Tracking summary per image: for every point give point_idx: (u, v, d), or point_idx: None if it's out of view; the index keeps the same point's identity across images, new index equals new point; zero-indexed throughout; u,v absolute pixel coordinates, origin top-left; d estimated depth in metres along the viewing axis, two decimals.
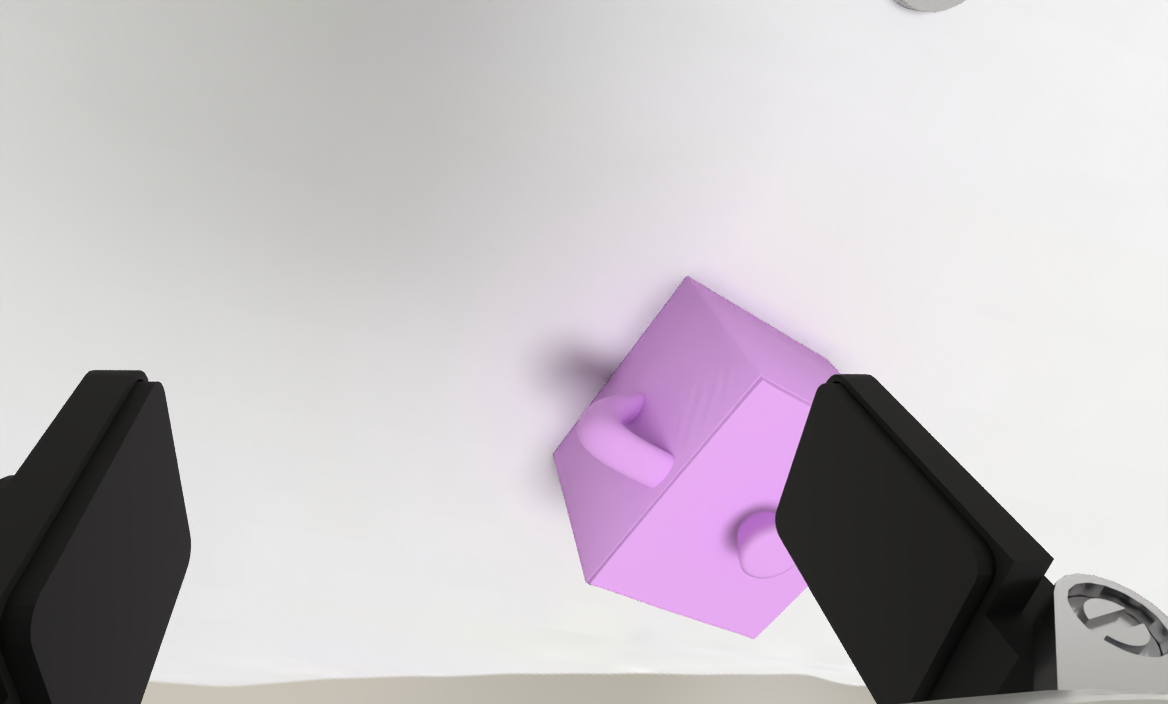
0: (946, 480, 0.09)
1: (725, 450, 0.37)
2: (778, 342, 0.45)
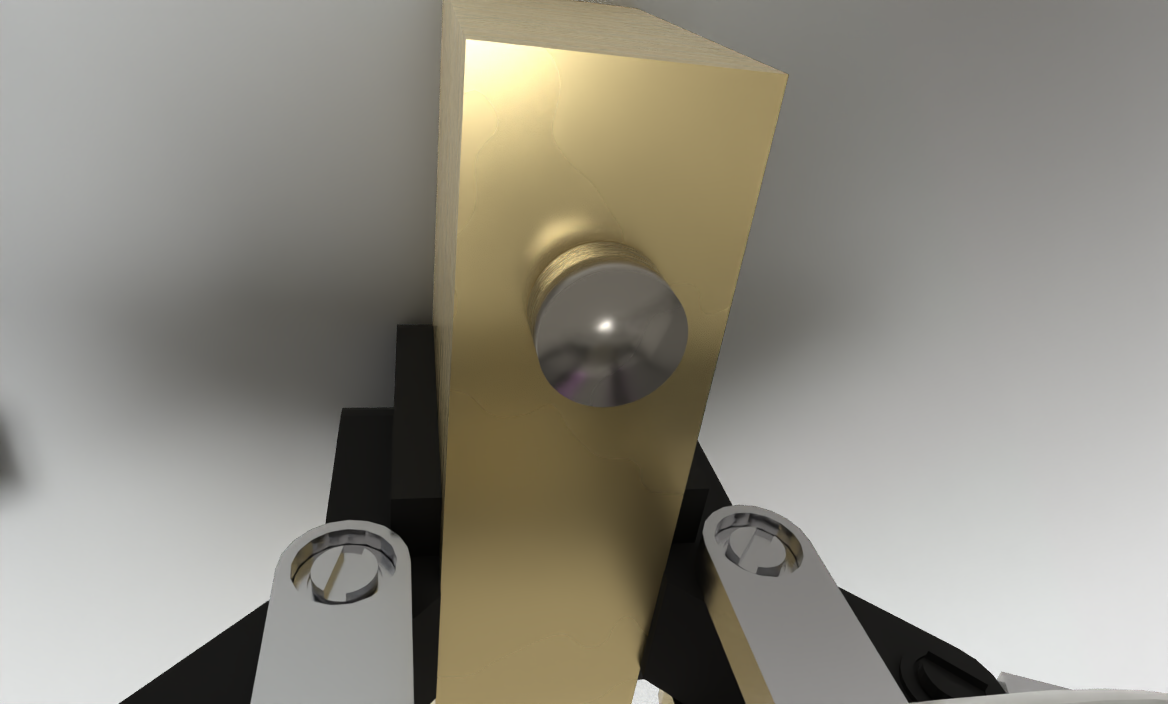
0: None
1: None
2: None
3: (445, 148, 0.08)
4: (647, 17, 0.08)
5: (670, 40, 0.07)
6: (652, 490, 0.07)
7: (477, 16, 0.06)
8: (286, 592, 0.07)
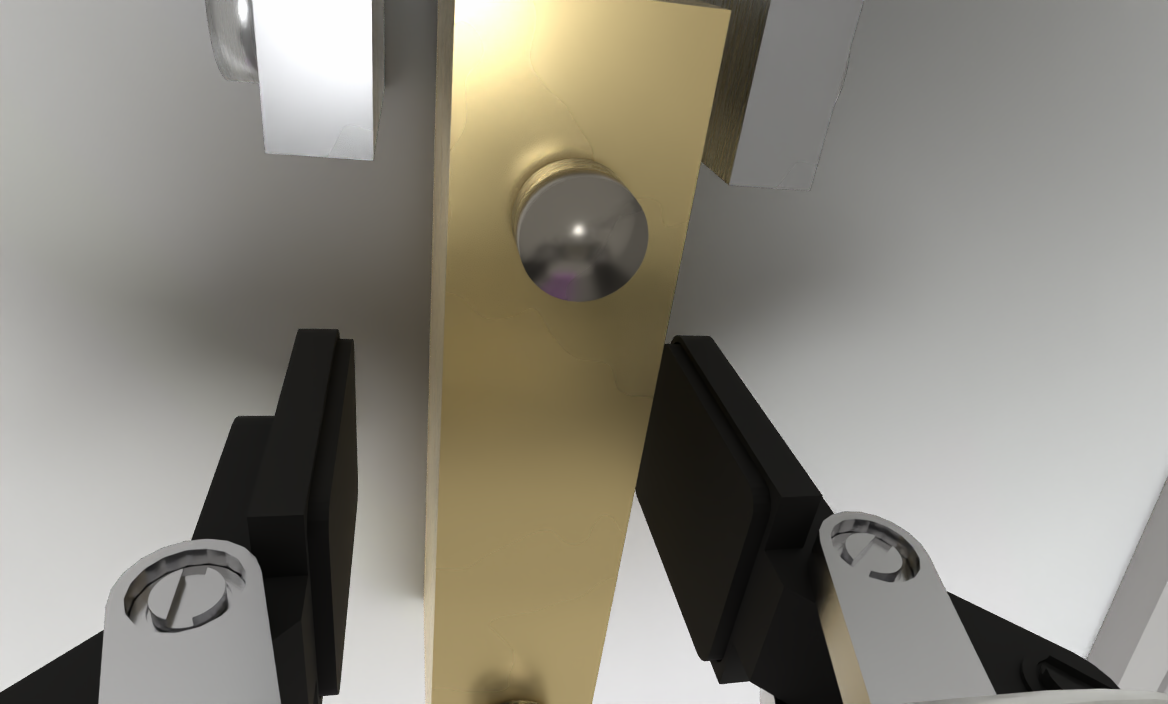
0: (745, 427, 0.09)
1: None
2: None
3: (441, 93, 0.09)
4: None
5: None
6: (625, 392, 0.08)
7: None
8: (115, 619, 0.06)
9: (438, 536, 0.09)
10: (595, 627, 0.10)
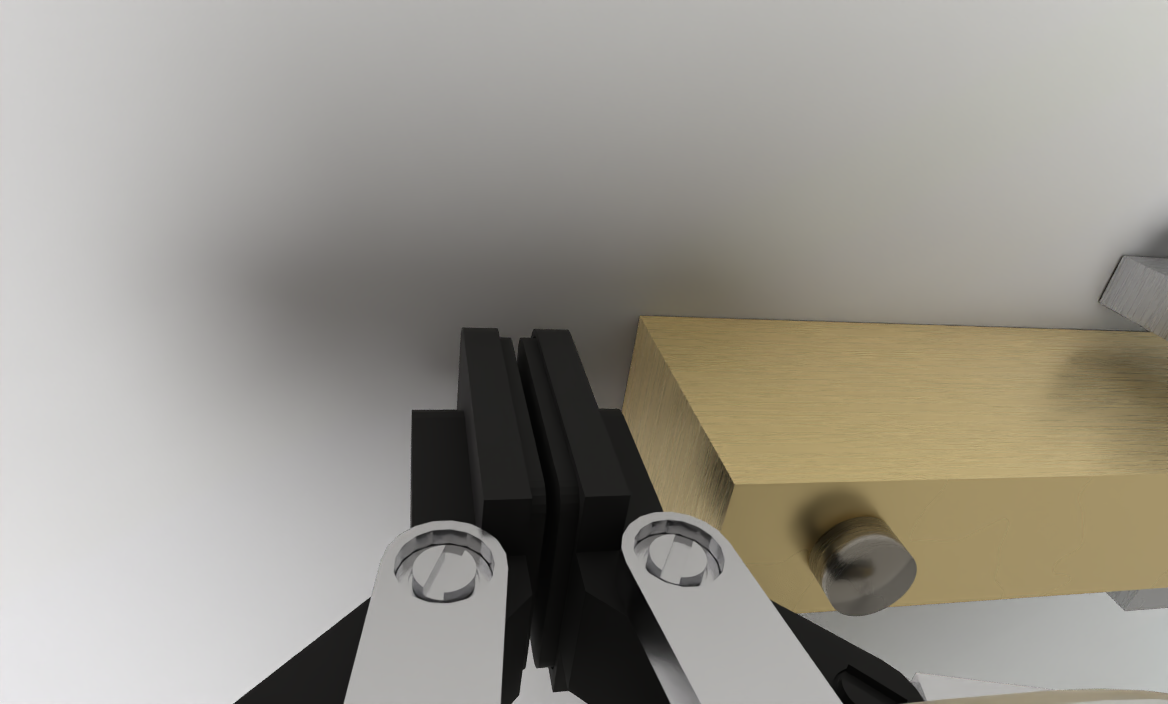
0: (571, 424, 0.09)
1: None
2: None
3: None
4: None
5: None
6: (1164, 573, 0.12)
7: None
8: (392, 591, 0.07)
9: (1125, 476, 0.10)
10: (951, 594, 0.11)
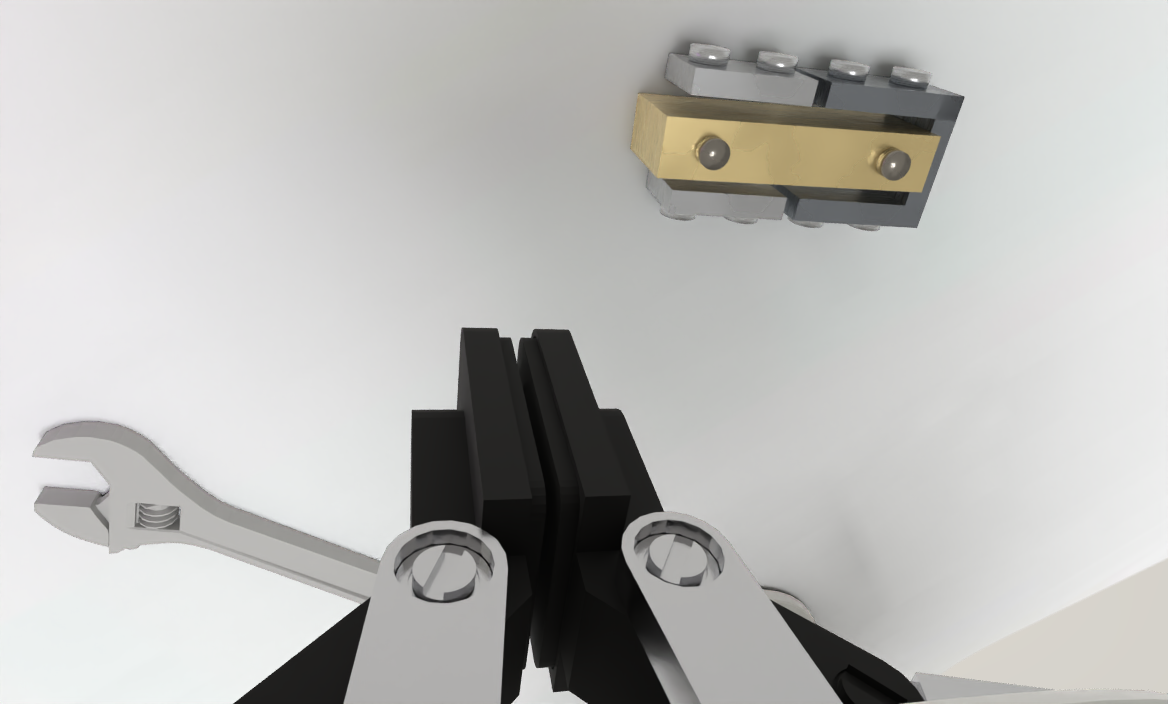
0: (572, 424, 0.09)
1: None
2: None
3: (880, 120, 0.33)
4: None
5: None
6: (840, 179, 0.31)
7: None
8: (393, 591, 0.07)
9: (808, 127, 0.29)
10: (752, 179, 0.30)
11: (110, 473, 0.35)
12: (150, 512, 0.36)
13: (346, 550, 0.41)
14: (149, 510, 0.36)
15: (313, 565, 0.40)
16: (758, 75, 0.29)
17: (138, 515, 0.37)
